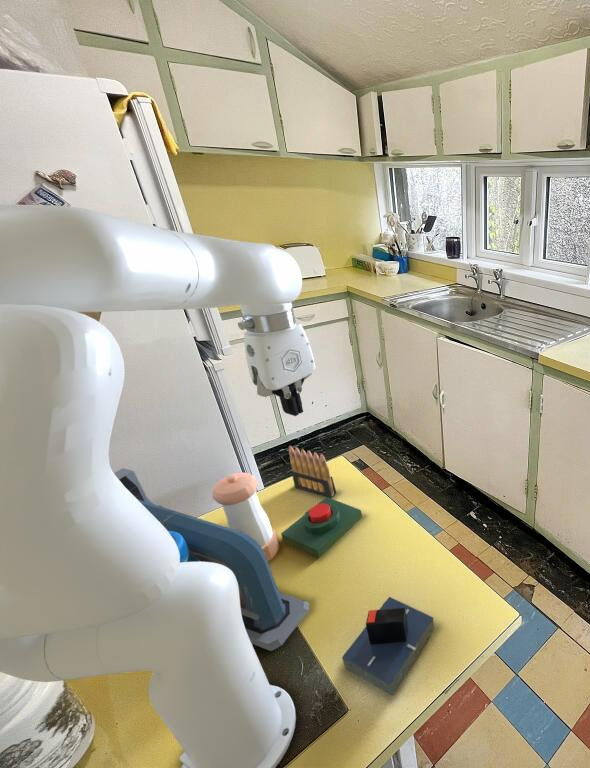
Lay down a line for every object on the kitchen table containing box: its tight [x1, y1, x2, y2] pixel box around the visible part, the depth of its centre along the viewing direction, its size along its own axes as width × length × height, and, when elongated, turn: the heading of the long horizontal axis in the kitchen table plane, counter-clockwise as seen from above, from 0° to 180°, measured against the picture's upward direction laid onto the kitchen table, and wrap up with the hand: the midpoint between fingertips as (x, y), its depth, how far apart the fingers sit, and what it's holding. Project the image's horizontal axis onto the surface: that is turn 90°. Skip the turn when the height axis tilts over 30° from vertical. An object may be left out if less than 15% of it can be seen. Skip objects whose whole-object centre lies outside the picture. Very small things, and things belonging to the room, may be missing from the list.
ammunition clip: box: [288, 445, 337, 499], centre depth 95 cm, size 11×2×12 cm, turn 71°
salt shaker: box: [211, 472, 280, 562], centre depth 78 cm, size 7×7×19 cm
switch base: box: [341, 596, 435, 696], centre depth 65 cm, size 11×10×3 cm
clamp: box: [113, 467, 311, 652], centre depth 68 cm, size 35×9×21 cm, turn 73°
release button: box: [309, 503, 331, 523], centre depth 86 cm, size 4×4×2 cm
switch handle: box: [365, 608, 408, 645], centre depth 63 cm, size 6×2×5 cm, turn 96°
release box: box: [280, 497, 363, 559], centre depth 87 cm, size 12×10×4 cm
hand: (294, 412), depth 78 cm, fingers closed
